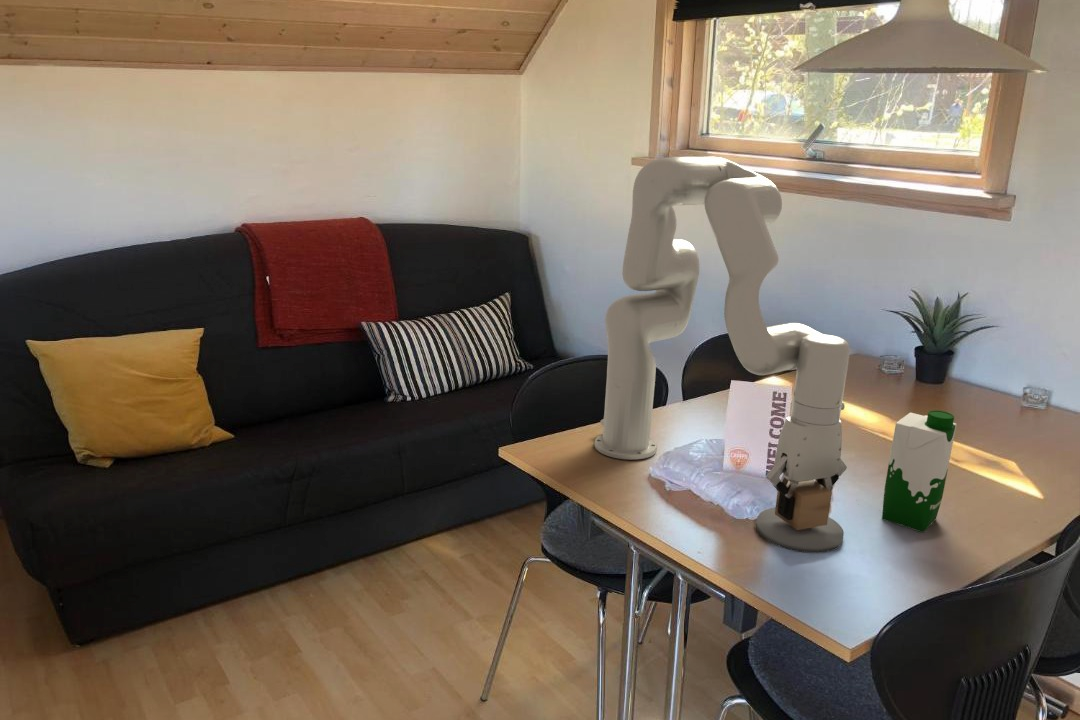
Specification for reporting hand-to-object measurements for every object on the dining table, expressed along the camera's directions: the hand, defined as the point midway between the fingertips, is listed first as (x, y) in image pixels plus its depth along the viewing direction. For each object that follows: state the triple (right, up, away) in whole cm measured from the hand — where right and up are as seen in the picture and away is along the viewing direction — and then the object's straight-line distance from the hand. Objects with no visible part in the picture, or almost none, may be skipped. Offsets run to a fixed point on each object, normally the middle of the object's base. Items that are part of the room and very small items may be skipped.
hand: (801, 512), depth 148 cm
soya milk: (+21, -3, +8) cm, 22 cm away
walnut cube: (0, -1, 0) cm, 1 cm away
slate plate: (0, -3, +1) cm, 3 cm away
